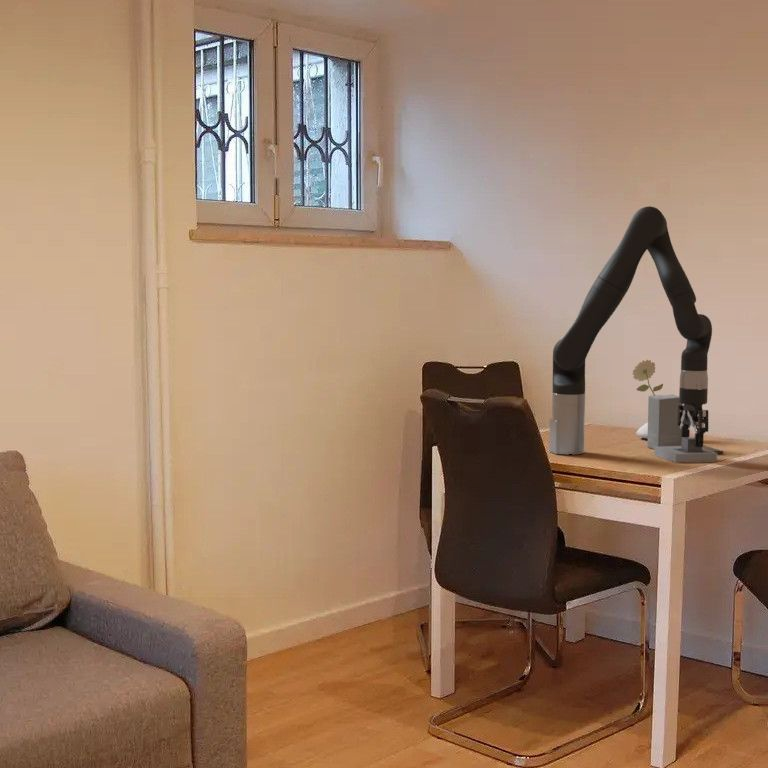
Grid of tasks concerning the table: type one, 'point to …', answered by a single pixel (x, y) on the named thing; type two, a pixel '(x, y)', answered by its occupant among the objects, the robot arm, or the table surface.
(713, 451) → the phone
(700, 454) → the outlet plate
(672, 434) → the skincare box
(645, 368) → the flower in vase
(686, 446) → the block
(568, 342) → the robot arm
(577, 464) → the table surface
